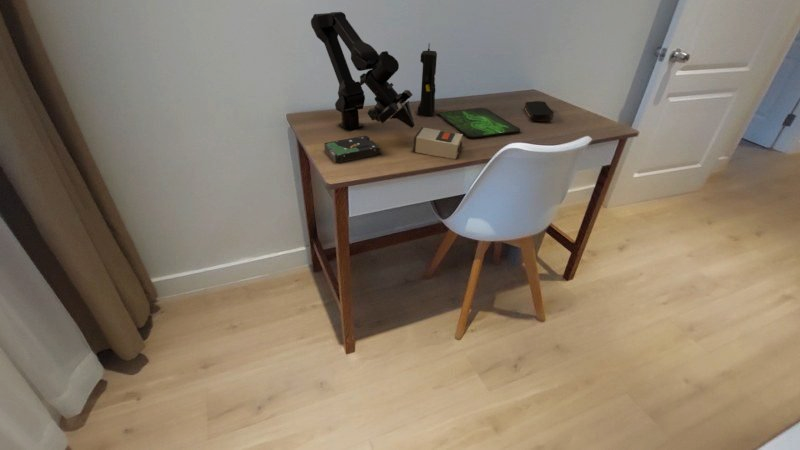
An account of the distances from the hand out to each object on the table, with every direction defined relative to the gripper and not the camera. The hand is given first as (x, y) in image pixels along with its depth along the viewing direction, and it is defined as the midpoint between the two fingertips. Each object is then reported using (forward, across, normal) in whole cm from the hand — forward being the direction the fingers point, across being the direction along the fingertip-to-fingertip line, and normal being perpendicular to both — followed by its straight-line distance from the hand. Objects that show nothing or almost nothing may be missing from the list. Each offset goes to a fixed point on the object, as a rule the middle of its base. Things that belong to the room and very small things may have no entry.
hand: (413, 126), depth 124 cm
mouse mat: (+17, -29, +7) cm, 35 cm away
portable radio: (+2, -32, -7) cm, 33 cm away
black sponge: (+32, -46, +23) cm, 61 cm away
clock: (+4, 0, -2) cm, 4 cm away
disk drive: (-7, +12, -16) cm, 22 cm away
